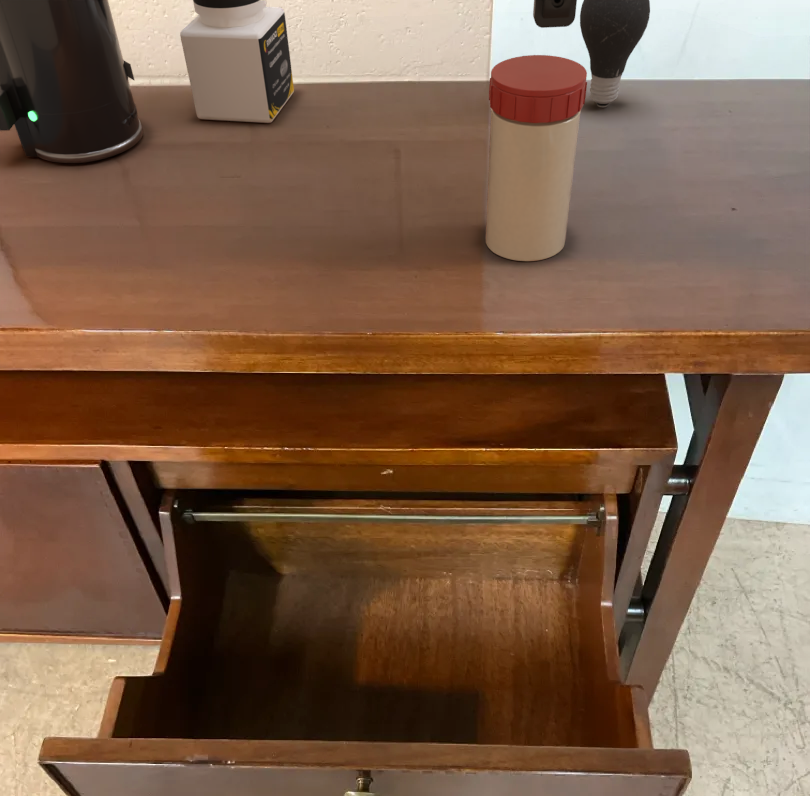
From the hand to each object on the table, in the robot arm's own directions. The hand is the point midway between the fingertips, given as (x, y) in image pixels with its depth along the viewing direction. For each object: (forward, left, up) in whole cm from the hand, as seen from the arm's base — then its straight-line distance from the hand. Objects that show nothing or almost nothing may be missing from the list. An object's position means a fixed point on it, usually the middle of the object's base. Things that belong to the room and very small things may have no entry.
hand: (545, 2), depth 48 cm
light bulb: (+9, +23, -15) cm, 29 cm away
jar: (0, 0, -15) cm, 15 cm away
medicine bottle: (-23, +25, -15) cm, 37 cm away
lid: (0, 0, -4) cm, 4 cm away
